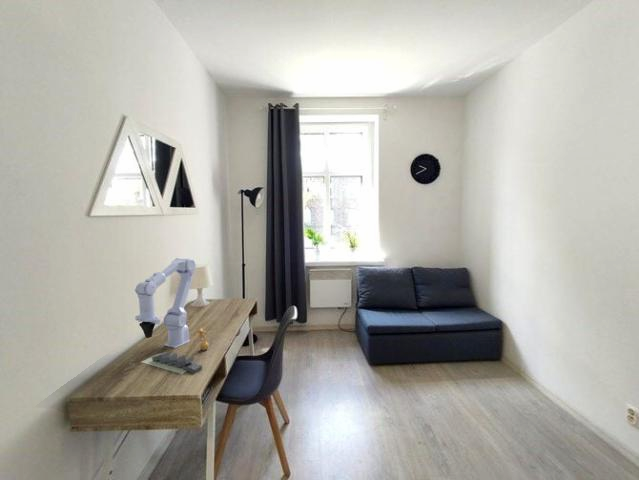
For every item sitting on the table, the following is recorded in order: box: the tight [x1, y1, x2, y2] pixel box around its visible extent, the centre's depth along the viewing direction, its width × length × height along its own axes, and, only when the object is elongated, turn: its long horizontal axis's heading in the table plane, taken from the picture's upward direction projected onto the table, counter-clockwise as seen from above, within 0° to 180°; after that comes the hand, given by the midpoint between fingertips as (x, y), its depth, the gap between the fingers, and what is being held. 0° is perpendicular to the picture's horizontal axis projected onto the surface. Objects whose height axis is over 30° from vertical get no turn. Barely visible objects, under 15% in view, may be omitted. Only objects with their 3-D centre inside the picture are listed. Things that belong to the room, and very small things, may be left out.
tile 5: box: [183, 361, 203, 374], centre depth 130 cm, size 2×4×7 cm
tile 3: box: [167, 354, 186, 365], centre depth 135 cm, size 2×4×7 cm
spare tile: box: [159, 352, 178, 364], centre depth 137 cm, size 2×4×7 cm
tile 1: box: [151, 351, 171, 361], centre depth 139 cm, size 2×4×7 cm
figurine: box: [193, 327, 211, 351], centre depth 149 cm, size 8×6×12 cm
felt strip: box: [141, 353, 187, 375], centre depth 137 cm, size 9×26×1 cm, turn 64°
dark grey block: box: [175, 355, 194, 368], centre depth 132 cm, size 2×4×7 cm
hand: (148, 337), depth 142 cm, fingers closed
